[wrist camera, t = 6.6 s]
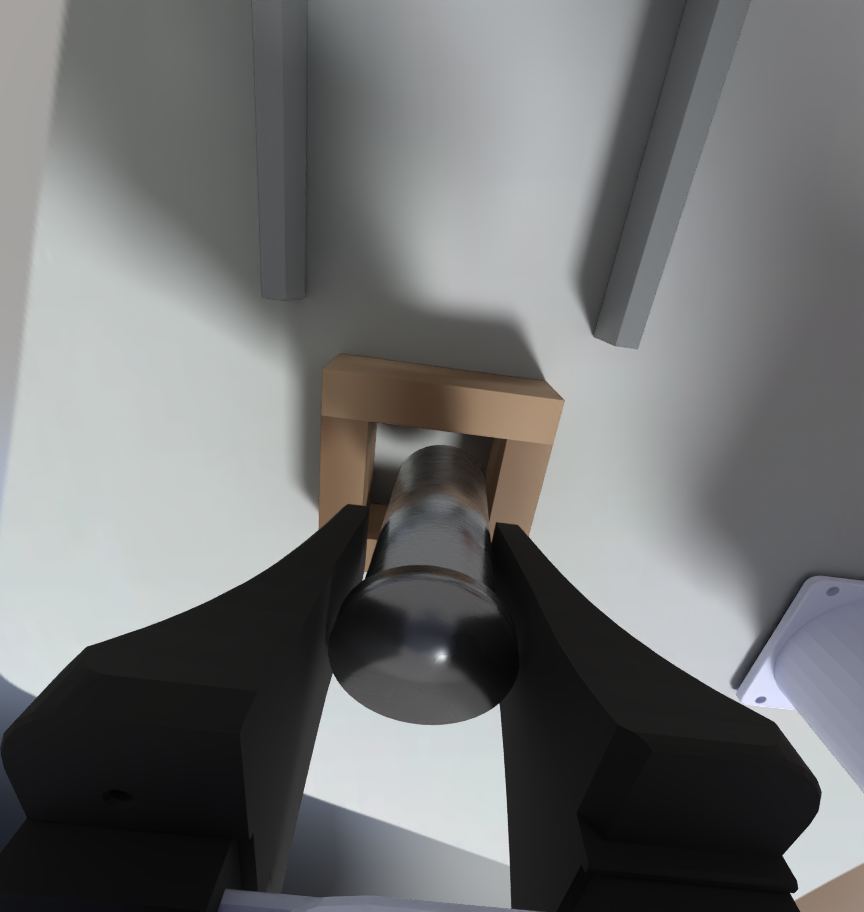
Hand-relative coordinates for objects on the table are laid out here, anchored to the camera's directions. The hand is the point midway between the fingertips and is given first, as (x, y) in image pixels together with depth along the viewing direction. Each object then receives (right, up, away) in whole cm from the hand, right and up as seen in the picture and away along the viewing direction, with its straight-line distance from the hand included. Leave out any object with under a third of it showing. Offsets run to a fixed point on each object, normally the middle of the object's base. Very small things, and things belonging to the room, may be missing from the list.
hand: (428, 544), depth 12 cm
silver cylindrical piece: (0, +1, +3) cm, 3 cm away
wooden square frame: (0, +2, +5) cm, 6 cm away
